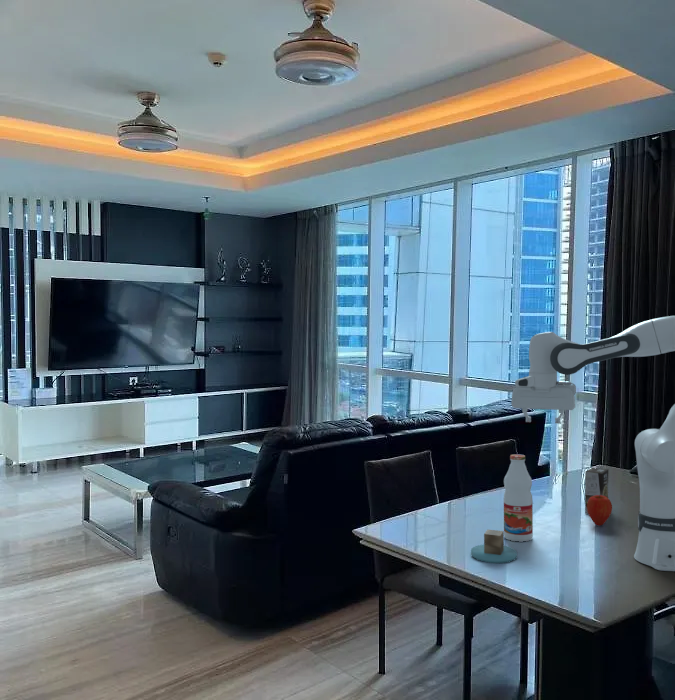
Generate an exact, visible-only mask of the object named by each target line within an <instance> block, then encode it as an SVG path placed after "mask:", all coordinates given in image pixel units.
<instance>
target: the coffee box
mask: <svg viewBox="0 0 675 700" xmlns="http://www.w3.org/2000/svg"><path fill="white" fill-rule="evenodd" d="M584 477H585V479H584V481H585V482H584V514H586V515H589V514H588V512H587V503H588V500H589V498H590V497H592V496H595V495H602V496H606V497H607V498H608V499H609V469H608V468H601V467H600V468H597V467H596V468H595V467H591V468H590V469H587V470H586V471H585V475H584Z"/></svg>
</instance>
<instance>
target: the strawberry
mask: <svg viewBox="0 0 675 700" xmlns="http://www.w3.org/2000/svg"><path fill="white" fill-rule="evenodd" d="M612 510H613V505H612V501H611V500H610V499H609V497H608V498H607V497H606V496H602V495H595V496H592V497H590V498H589V500H588V503H587V512H588V514H587V515H588V516H589V518H590V519H591V521H592V522H593V523H594V525H596V526H597V525H598V526H597V527H599V526H603V525H604V524H606V522H607V520H608V519H609V518H610V516H611V515H612V512H613V511H612Z"/></svg>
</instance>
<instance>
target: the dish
mask: <svg viewBox="0 0 675 700" xmlns="http://www.w3.org/2000/svg"><path fill="white" fill-rule="evenodd" d="M471 555H472V556H473V557H474V558H473V557H472V556H471ZM470 556H471V557H472V558H473V559H475V558H476V559H475V560H477V559H478V560H477V561H480V560H481V561H480V562H483V561H485V563H489V562H490V563H491V564H505V563H506V562H507V563H510V562H509V561H511V562H513V561H512V560H514V559H515V560H517V558H518V552H517V550H516V549H514V548H512V547H510V546H508V545H504V550H503V552H502V554H501V555H496V554H488V553H484V544H478V545H475V546H473V547H472V548H471V550H470ZM516 557H517V558H516ZM515 560H514V561H515Z"/></svg>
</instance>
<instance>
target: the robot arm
mask: <svg viewBox="0 0 675 700" xmlns="http://www.w3.org/2000/svg"><path fill="white" fill-rule="evenodd" d="M670 352H675V315H670V316H669V315H667V316H662V317H657V318H652V319H649V320H644V321H642V322H639V323H635V324H634V325H632V326H630V327H628V328H626V329H625V330H622V331H621V332H620V333H617V334H616V335H613V336H611V337H609V338H603V339H599V340H596V341H592V342H588V343H587V342H586V343H578V342H575V341H572V340H569V339H565V338H564V337H561V336H559V334H558V335H557V334H556V333H555V332H554V331H545V332H540V333H537V334H534V335H532V337H531V338H530V341H529V350H528V360H529V371H528V376H523V377H521V378H518V379H516V380H515V381H514V385H515V387H514V388H513V390H512V393H511V401H510V402H511V406H512V407H513V409H521V410H522V413H523V416H524V417H525V423H531V422H532V416H529V414H528V409H529V410H530V409H531V410H552V411H553V410H557V411H558V414H559V416H558V417H555V418H554V420H555V424H559V425H560V424H561V418H562V417H563V415H564V414H565V411H574V409H576V398H575V395H576V393H577V386H576V384H574V383H573V382H571V381H561V380H560V381H558V379H557V378H558V377H557V376H558V373H559V374H561V375H564V376H569V375H573V374H576V373H577V372H579V371H581V369H583V368H584V367H586V366H588V365H590V364H595V363H597V362H602V361H606V360H611V359H616V358H621V357H622V358H625V357H626V358H627V357H629V358H633V357H634V358H637V357H638V358H641V357H651V356H658V355H661V354H666V353H670ZM634 450H635V458H636V467H637V468H636V469H637V475H638V482H639V511H638V514H637V528H638V531H639V532H638V537H637V544H636V548H635V552H634V554H633V558H634V559H635V561H637V562H639V563H641V564H644V565H646V566H648V567H652V568H653V569H655V570H656V571H657V570H658V571H665V572H675V403H674V404H673V405H672V406H671V408H670V409H669V411H668V414H667V416H666V419H665V420H664V422H663V423H662V425H661V426H660V428H647V429H645V430H641V432H638V434H637V435H636V437H635V439H634Z"/></svg>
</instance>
